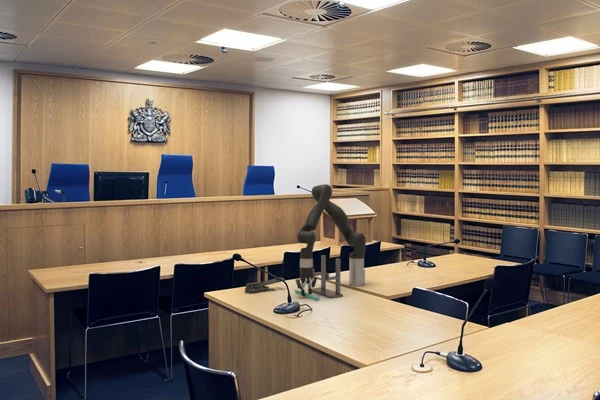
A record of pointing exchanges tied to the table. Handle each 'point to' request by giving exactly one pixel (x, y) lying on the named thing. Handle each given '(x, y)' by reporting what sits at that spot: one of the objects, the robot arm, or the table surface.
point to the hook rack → (325, 276)
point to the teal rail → (308, 295)
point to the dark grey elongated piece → (260, 286)
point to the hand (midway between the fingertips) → (306, 295)
